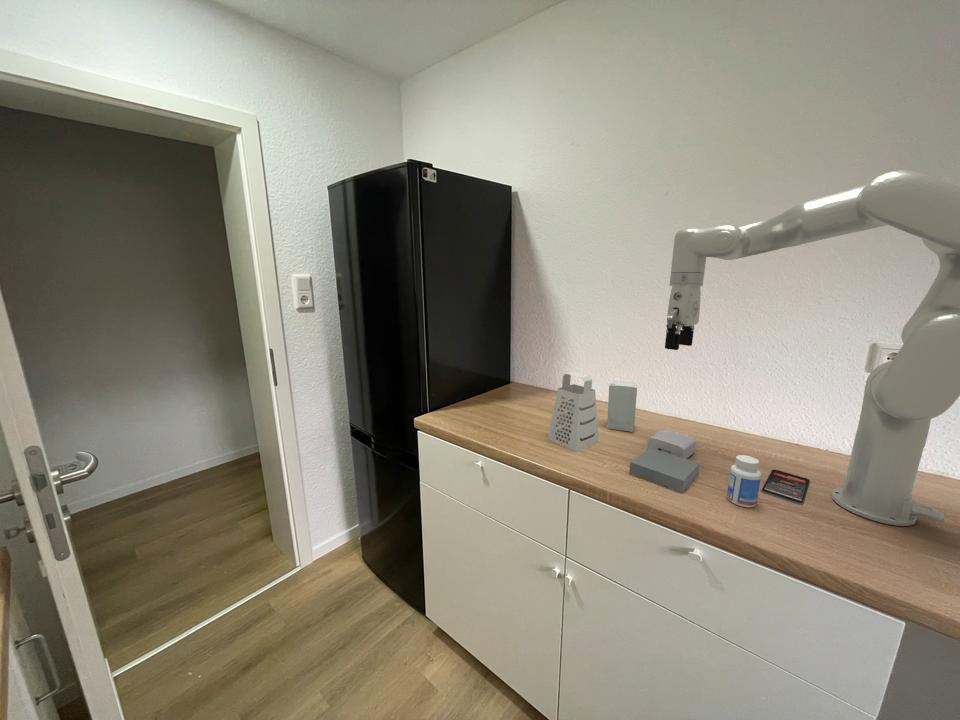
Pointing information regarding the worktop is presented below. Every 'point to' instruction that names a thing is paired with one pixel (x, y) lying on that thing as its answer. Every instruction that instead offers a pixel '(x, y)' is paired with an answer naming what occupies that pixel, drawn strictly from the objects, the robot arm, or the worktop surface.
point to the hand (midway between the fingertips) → (678, 347)
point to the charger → (673, 443)
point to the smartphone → (786, 486)
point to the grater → (575, 414)
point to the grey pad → (665, 469)
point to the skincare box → (622, 405)
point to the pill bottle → (744, 481)
